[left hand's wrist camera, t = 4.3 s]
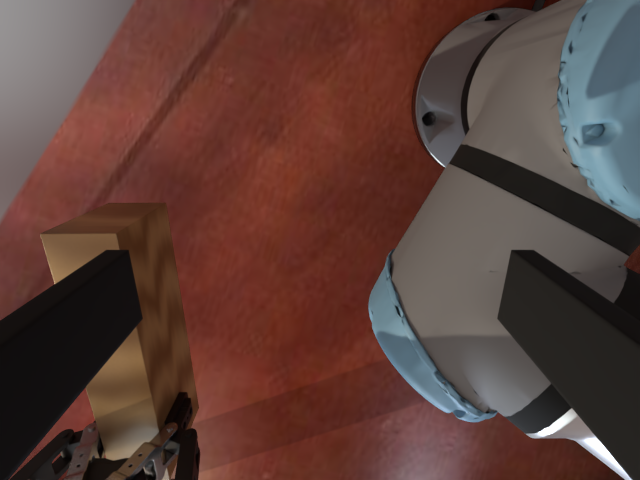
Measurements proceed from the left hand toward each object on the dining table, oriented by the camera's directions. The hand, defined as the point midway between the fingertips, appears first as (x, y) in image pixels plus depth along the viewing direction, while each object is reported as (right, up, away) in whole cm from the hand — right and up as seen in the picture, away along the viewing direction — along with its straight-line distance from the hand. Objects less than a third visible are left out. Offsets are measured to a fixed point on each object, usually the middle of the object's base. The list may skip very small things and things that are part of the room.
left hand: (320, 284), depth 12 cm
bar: (-16, -6, +22) cm, 28 cm away
